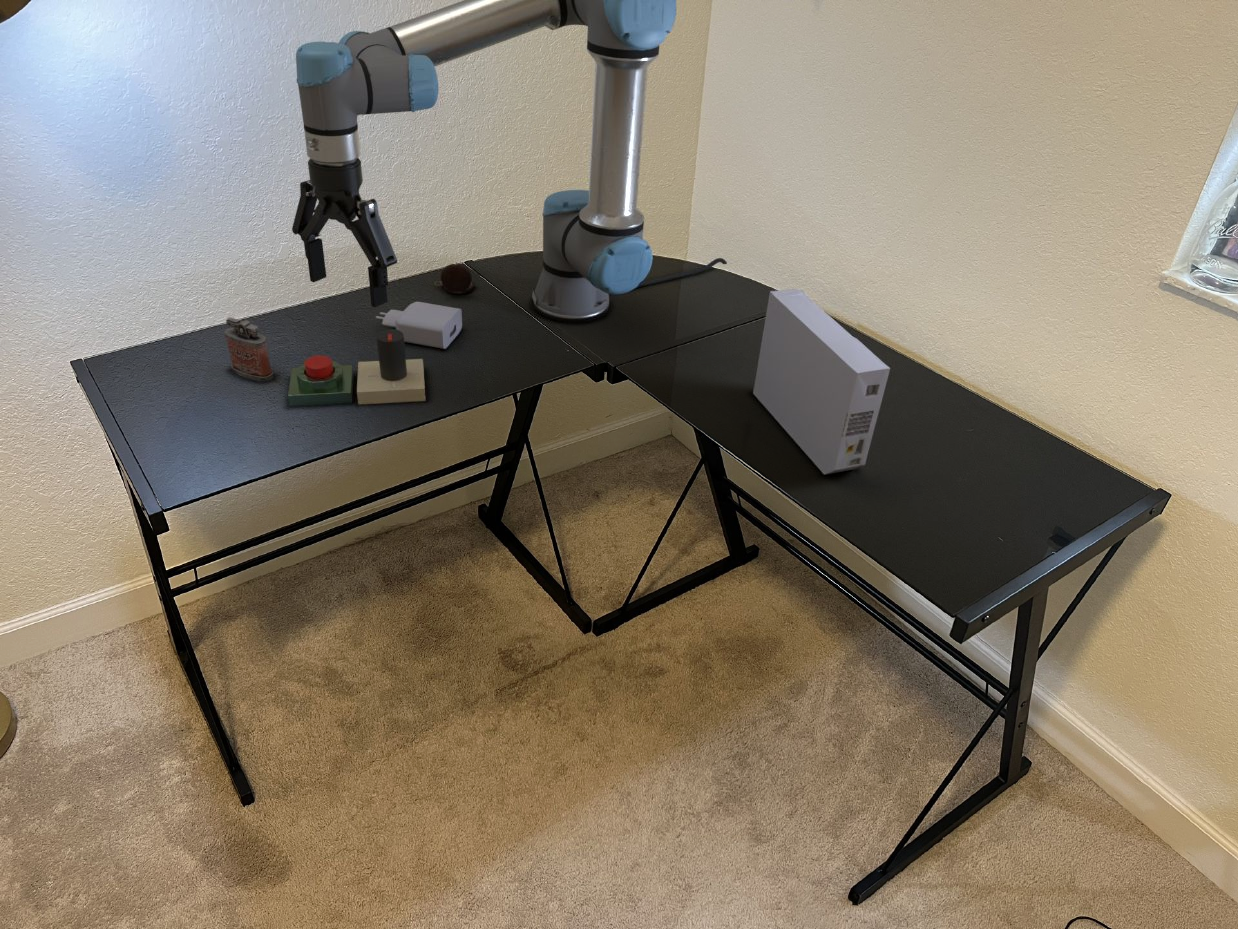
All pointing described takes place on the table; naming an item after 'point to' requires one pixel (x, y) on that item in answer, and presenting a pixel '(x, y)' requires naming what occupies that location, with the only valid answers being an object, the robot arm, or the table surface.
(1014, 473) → the table surface
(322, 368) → the button
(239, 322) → the lighter
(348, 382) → the box
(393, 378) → the hob knob
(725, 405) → the table surface
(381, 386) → the hob panel
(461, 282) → the dark brown round lump
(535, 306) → the robot arm
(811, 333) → the game console
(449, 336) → the charger
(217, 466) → the table surface
